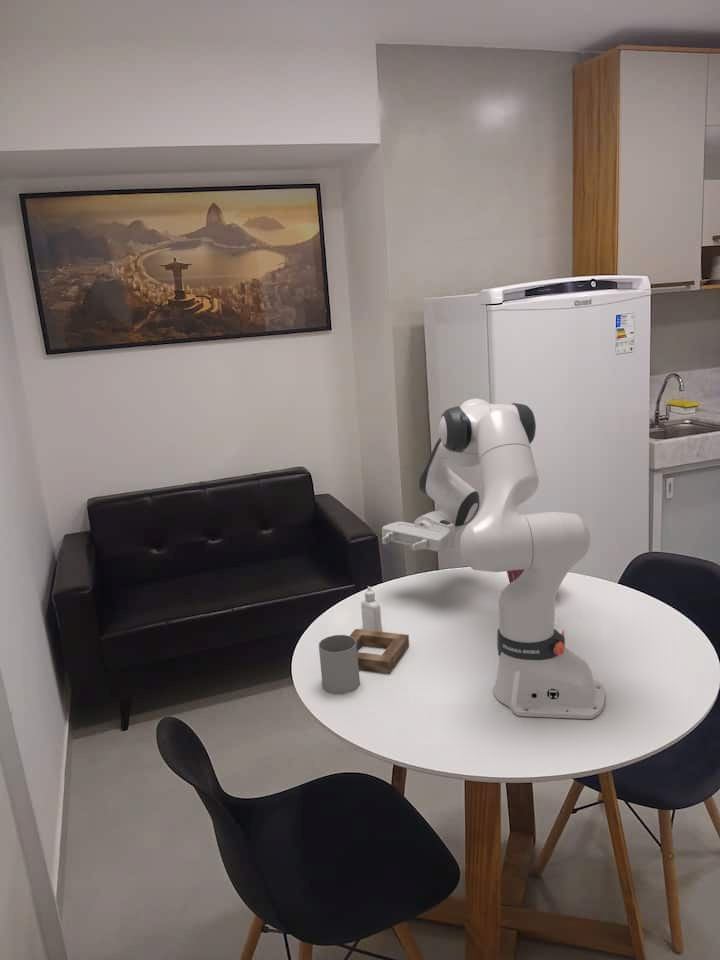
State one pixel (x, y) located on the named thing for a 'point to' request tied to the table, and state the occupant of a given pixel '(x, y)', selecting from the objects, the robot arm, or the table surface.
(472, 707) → the table surface
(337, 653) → the cup
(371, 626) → the eye dropper bottle
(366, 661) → the socket block
